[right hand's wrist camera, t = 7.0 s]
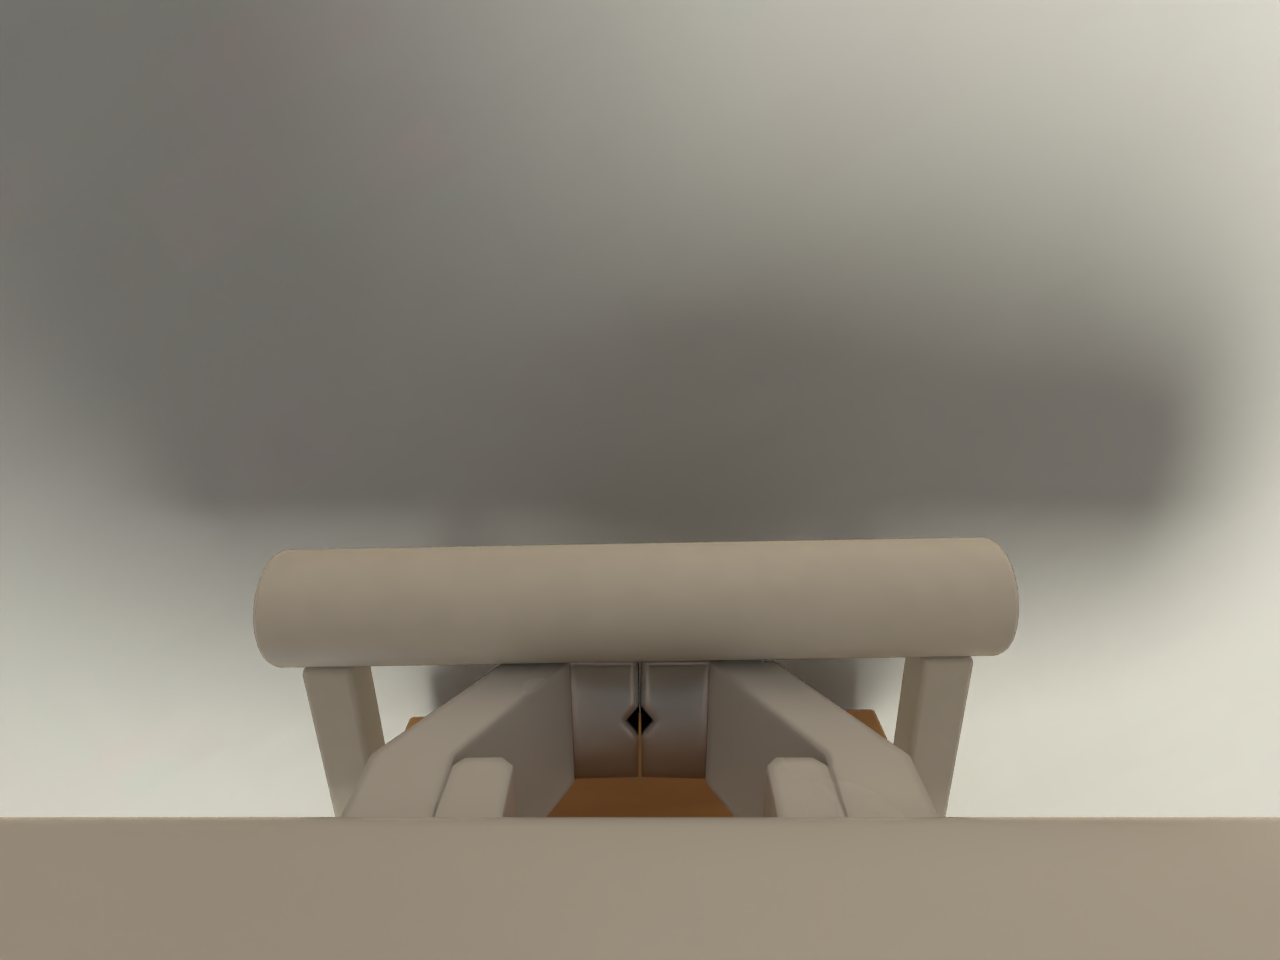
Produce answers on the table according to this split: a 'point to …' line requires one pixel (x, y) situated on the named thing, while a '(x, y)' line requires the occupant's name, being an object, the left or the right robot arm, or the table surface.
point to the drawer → (639, 631)
